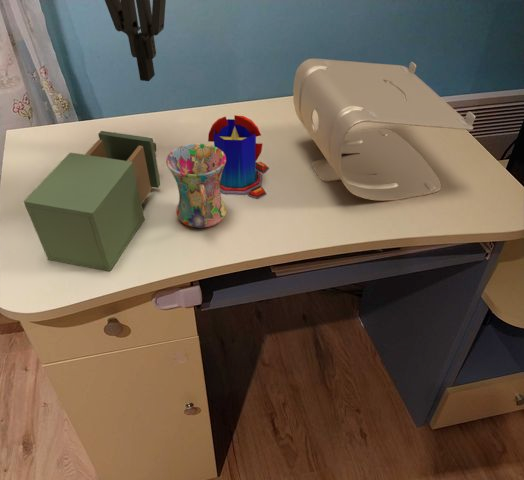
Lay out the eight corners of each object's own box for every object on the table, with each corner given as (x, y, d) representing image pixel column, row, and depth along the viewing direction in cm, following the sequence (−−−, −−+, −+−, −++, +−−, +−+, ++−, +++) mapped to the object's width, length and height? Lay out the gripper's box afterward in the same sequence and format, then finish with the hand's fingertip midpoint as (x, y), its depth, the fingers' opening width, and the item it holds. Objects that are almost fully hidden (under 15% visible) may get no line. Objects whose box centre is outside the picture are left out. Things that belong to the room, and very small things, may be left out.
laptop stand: (288, 140, 101) (293, 58, 89) (393, 125, 106) (411, 45, 94) (334, 212, 86) (347, 125, 74) (454, 192, 90) (485, 106, 78)
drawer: (122, 164, 93) (112, 118, 87) (169, 172, 92) (162, 125, 85) (80, 217, 83) (64, 169, 76) (132, 226, 82) (121, 178, 75)
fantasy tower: (200, 196, 89) (194, 131, 79) (208, 161, 96) (204, 97, 87) (266, 199, 88) (267, 134, 79) (269, 163, 96) (271, 100, 87)
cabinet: (87, 209, 86) (70, 152, 78) (144, 219, 84) (132, 161, 76) (47, 259, 78) (23, 201, 69) (110, 271, 76) (92, 213, 68)
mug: (172, 203, 87) (163, 146, 79) (224, 197, 89) (220, 140, 80) (179, 246, 80) (171, 188, 72) (236, 239, 81) (234, 181, 73)
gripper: (173, -106, 69) (190, 73, 88) (87, -112, 71) (121, 64, 90) (152, -95, 65) (175, 91, 83) (61, -102, 67) (103, 82, 85)
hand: (147, 77), depth 86 cm, fingers closed
